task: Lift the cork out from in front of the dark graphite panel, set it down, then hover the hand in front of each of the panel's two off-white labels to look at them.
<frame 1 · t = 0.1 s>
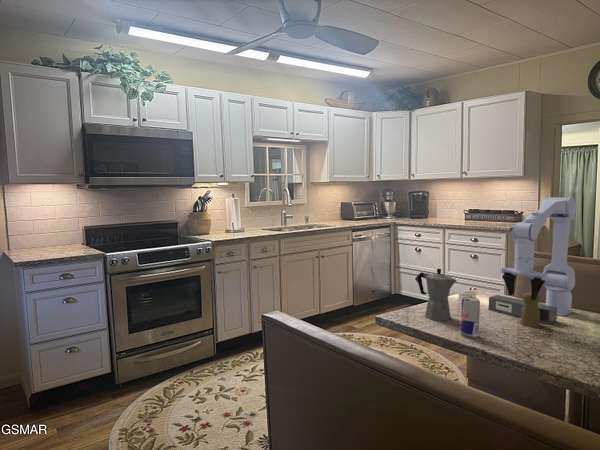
hand: (522, 297, 142), 10 cm above the table, tool pointing down, fingers open, 7 cm apart
energy drink: (469, 336, 134), on the table
cork: (529, 324, 145), on the table
label panel: (520, 315, 155), on the table
coffeepot: (435, 316, 154), on the table
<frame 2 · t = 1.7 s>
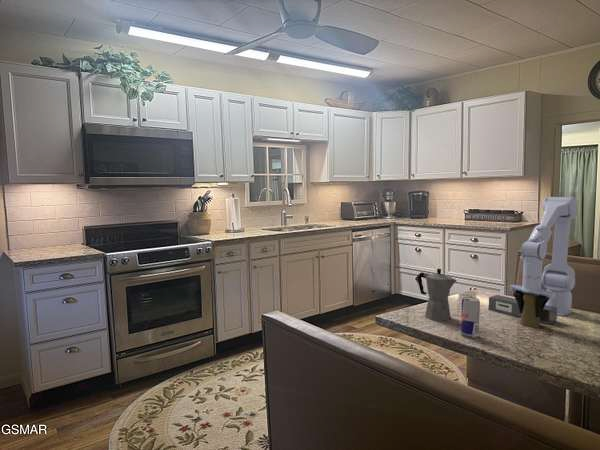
hand: (530, 314, 145), 3 cm above the table, tool pointing down, fingers closed on cork, 5 cm apart
cork: (529, 324, 145), on the table, touching gripper
everything else where it was.
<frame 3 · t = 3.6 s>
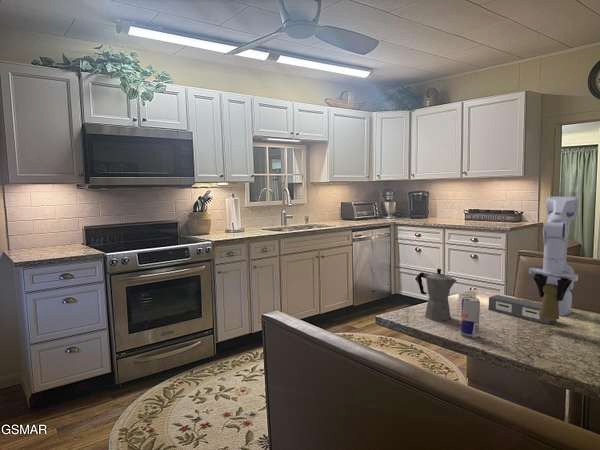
hand: (551, 298, 139), 10 cm above the table, tool pointing down, fingers closed on cork, 5 cm apart
cork: (548, 317, 140), point 4 cm above the table, touching gripper
everything else where it was.
when the fingers open (5 cm above the table, at t = 5.5 s): cork stays where it is, on the table.
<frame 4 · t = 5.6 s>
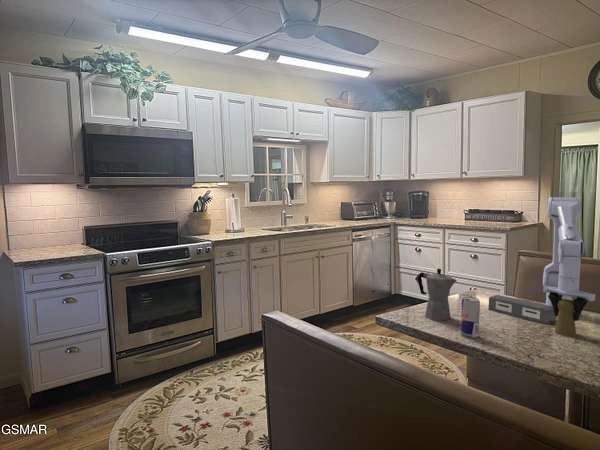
hand: (566, 317, 136), 5 cm above the table, tool pointing down, fingers open, 5 cm apart
cork: (565, 333, 136), on the table
everything else where it was.
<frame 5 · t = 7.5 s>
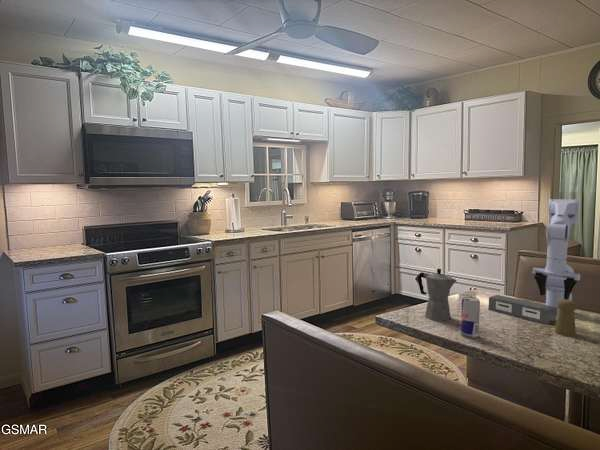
hand: (554, 297, 146), 9 cm above the table, tool pointing down, fingers open, 7 cm apart
nothing on the table moved.
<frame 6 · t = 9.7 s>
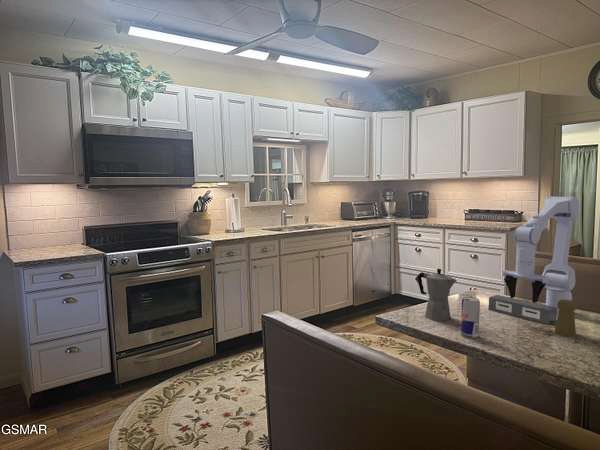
hand: (523, 299, 145), 8 cm above the table, tool pointing down, fingers open, 7 cm apart
nothing on the table moved.
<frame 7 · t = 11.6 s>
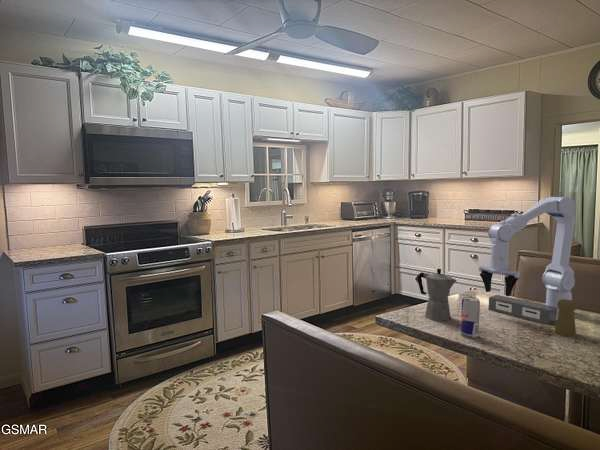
hand: (497, 293, 154), 8 cm above the table, tool pointing down, fingers open, 7 cm apart
nothing on the table moved.
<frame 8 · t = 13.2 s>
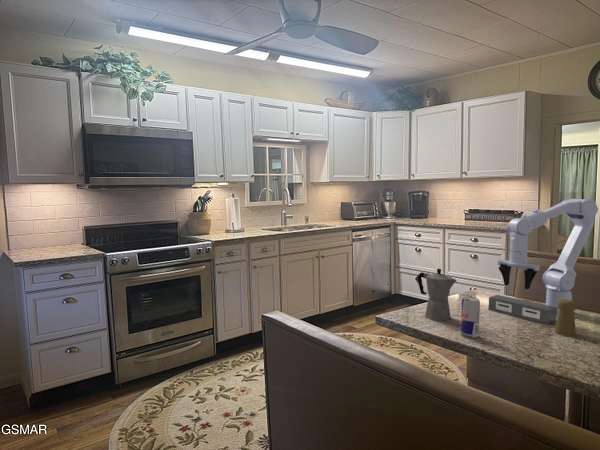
hand: (516, 286, 156), 10 cm above the table, tool pointing down, fingers open, 7 cm apart
nothing on the table moved.
at the end: cork inside the target area (0.2 cm from its centre), on the table; cork tilted 0°; the gripper is holding nothing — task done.
